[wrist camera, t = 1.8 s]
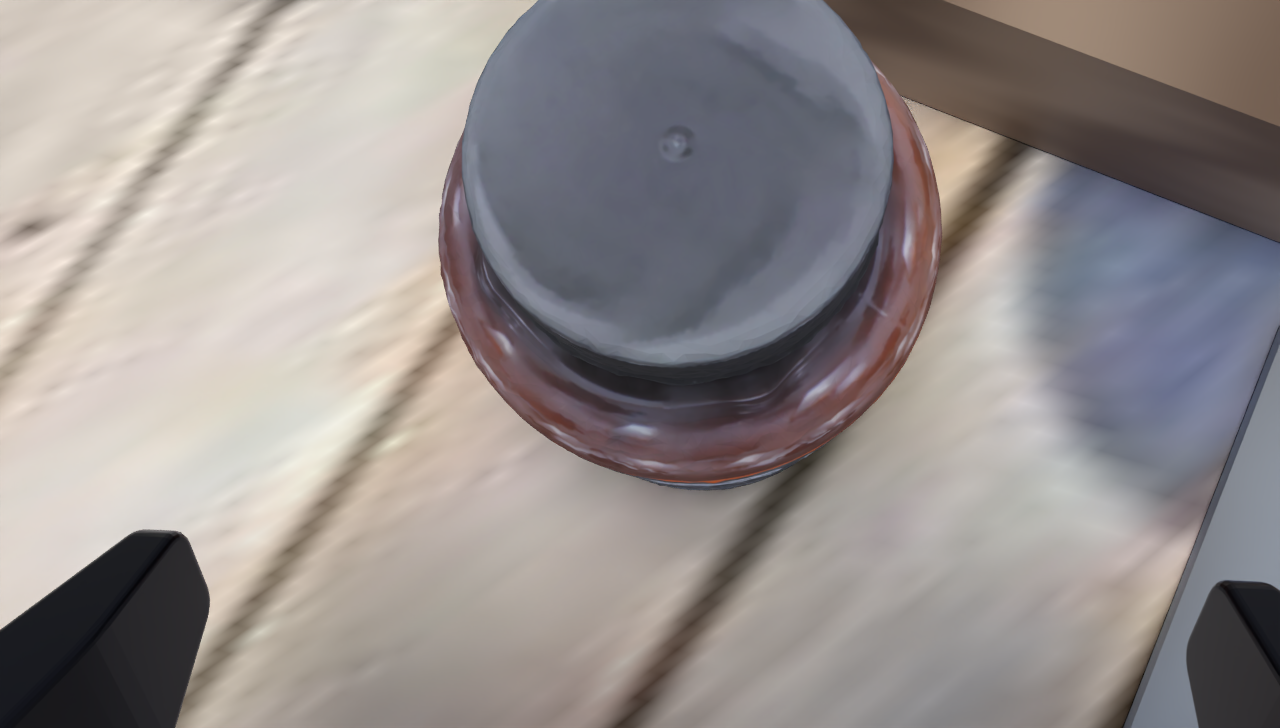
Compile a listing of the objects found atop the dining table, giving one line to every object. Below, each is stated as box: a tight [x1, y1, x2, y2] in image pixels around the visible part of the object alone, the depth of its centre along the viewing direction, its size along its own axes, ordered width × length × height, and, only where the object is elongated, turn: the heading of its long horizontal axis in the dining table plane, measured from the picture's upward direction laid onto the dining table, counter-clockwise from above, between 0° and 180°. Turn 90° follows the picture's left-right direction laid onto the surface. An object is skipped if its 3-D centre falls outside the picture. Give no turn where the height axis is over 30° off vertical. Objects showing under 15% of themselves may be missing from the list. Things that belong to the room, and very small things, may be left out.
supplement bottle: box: [438, 0, 942, 490], centre depth 15 cm, size 6×6×11 cm
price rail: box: [823, 0, 1280, 728], centre depth 18 cm, size 26×13×4 cm, turn 66°
